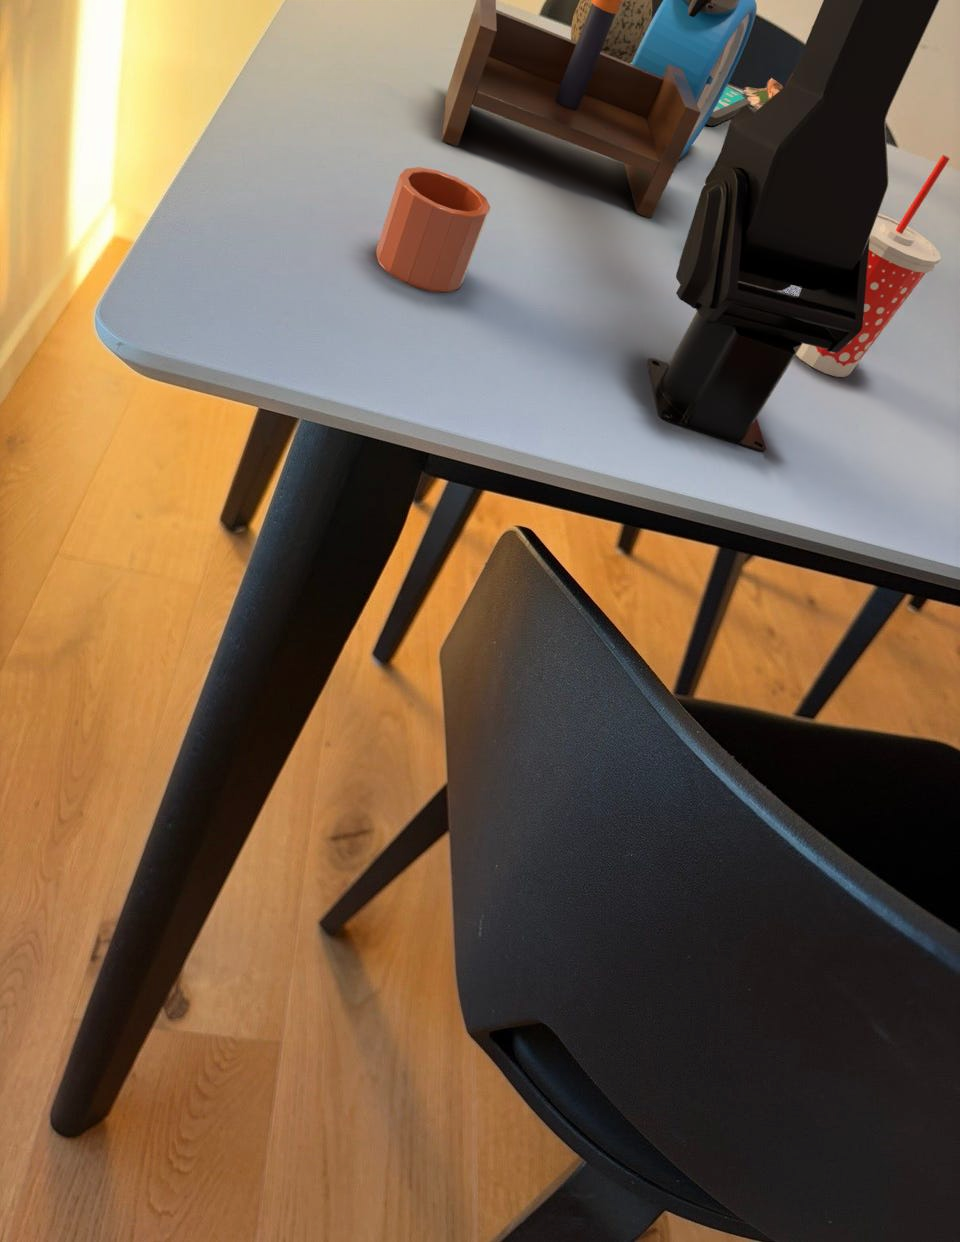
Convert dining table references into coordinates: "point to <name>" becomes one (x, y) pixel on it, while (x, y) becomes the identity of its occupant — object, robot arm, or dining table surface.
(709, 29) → the alarm clock
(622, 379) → the dining table surface
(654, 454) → the dining table surface
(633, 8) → the decorative egg
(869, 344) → the beverage cup
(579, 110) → the shelf
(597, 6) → the marker
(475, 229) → the pen cup
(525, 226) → the dining table surface
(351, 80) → the dining table surface
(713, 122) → the smartphone
